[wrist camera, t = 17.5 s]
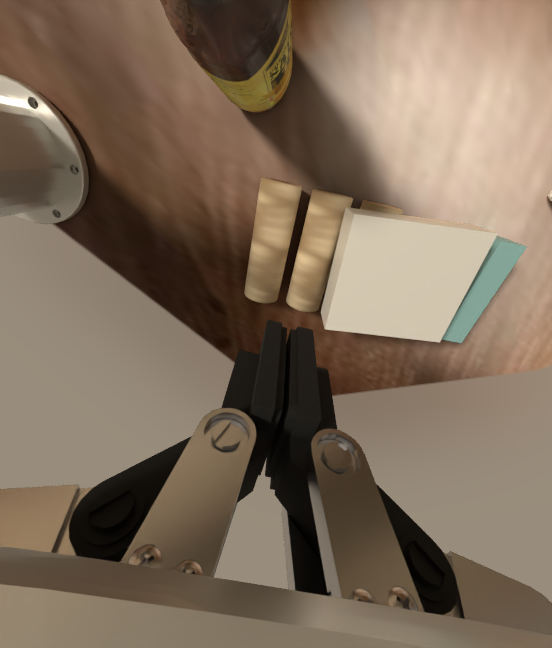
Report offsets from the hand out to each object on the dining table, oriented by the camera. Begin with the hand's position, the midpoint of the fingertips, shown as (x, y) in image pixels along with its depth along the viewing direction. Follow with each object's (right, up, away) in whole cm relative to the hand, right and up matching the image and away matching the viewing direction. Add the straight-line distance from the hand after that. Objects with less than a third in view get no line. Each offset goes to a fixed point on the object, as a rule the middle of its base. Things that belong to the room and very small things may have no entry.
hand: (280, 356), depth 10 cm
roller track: (+8, +9, +21) cm, 24 cm away
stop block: (+21, +7, +22) cm, 31 cm away
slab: (+12, +7, +18) cm, 22 cm away
